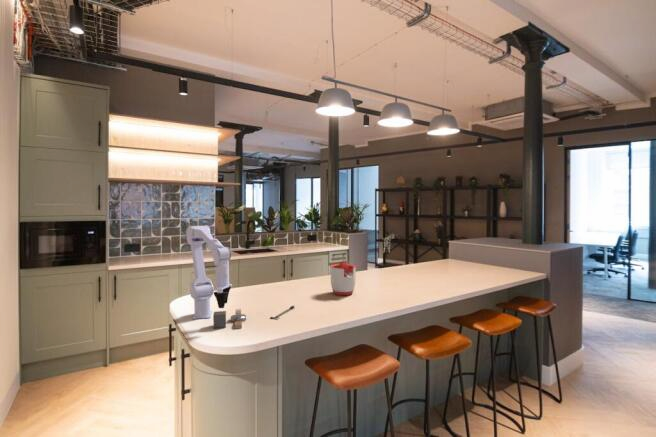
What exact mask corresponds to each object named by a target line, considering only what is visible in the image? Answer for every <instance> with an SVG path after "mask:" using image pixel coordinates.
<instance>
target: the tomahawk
mask: <svg viewBox="0 0 656 437" xmlns="http://www.w3.org/2000/svg"><path fill="white" fill-rule="evenodd" d="M294 308H295V305H291V306H290V307H288V309H285V310H284V311H282V312H281V313H278V315H275V316H270V317H269V319H270V320H276V321H278V320H280V319H281V318H280V317H281V316H283V315H285V314H288V312H290V311H292V310H293V309H294Z"/></svg>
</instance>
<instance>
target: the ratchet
mask: <svg viewBox="0 0 656 437" xmlns="http://www.w3.org/2000/svg"><path fill="white" fill-rule="evenodd" d="M246 321H247V315H246V314H243V313H242V309H241V308H237V309H235V314H233V315H231V316H230V322H231V323H234V329H235V330H240V329H242V328H243V323H244V322H246Z"/></svg>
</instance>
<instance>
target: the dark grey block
mask: <svg viewBox="0 0 656 437" xmlns="http://www.w3.org/2000/svg"><path fill="white" fill-rule="evenodd" d="M212 317H213V319H212V320H213V330H215V329H225V328H227V311H226V310H223V311H222V310H220V311H213V316H212Z"/></svg>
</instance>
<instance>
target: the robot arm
mask: <svg viewBox="0 0 656 437" xmlns="http://www.w3.org/2000/svg"><path fill="white" fill-rule="evenodd" d="M185 231H186V232H185V234H186V240H187V244H188V245H190V248H191V255H192V262H193V270H194V277H195V279H194V280H192V282H191V283H190V285H189V286H190V288H189V294H190V297H191V298H192V299H193V300H194V313H193V317H192V319H193V320H195V319H196V320H197V319H199V320H200V319H209V318H210V319H211V317H212V313H213V312H212V311H211V298H212V296H213V295H214V297H215V299H216V301H217V305H218V306H217V307H218V309H224V308H225V304H227V303H228V299H229V294H230V290H231V289H232V287H233V284H232V283H230V262H229V261H230V260H231V258H232V251H231V249H230V247H229V246H224V245H223V244H222V243H221V242H220V241H219V239H218V238H214V236H213V235H212V234H211V227H210V226H209V225H207V224H206V225H188V227H186V230H185ZM203 244H206V247H207V249H208V250H209V251H210V252H211V254H212V258H213V265H214V266H215V267H214V268H215V270H214V271H215V287H214V285H213V281H212V279H210V278H209V277H207V274H206V267H205V260H204V252H203ZM214 288H216V291H215V289H214Z"/></svg>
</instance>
